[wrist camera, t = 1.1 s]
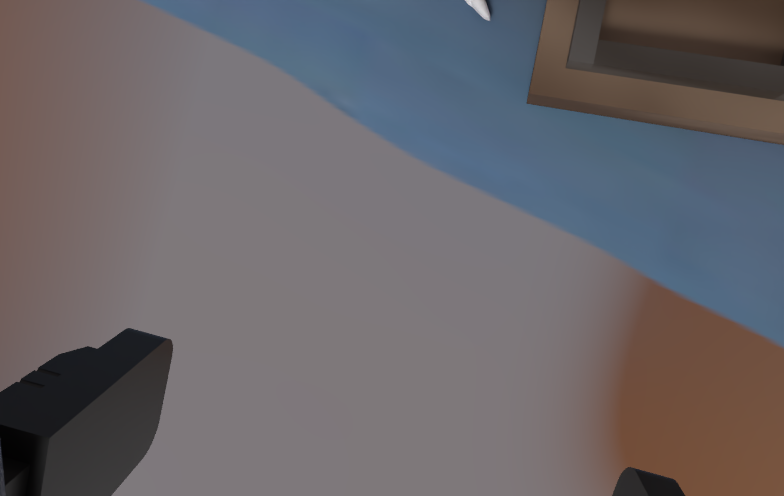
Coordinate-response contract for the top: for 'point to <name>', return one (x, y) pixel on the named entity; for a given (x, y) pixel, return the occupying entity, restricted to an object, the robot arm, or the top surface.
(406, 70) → the top surface
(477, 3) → the unicorn horn
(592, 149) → the top surface
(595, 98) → the walnut base
